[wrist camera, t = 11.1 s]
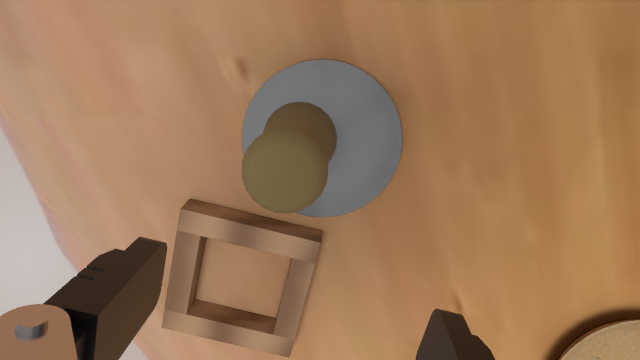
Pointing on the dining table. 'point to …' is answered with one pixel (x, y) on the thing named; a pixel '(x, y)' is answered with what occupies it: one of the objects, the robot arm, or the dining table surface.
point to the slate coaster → (338, 129)
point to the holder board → (247, 232)
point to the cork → (290, 158)
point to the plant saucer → (607, 343)
